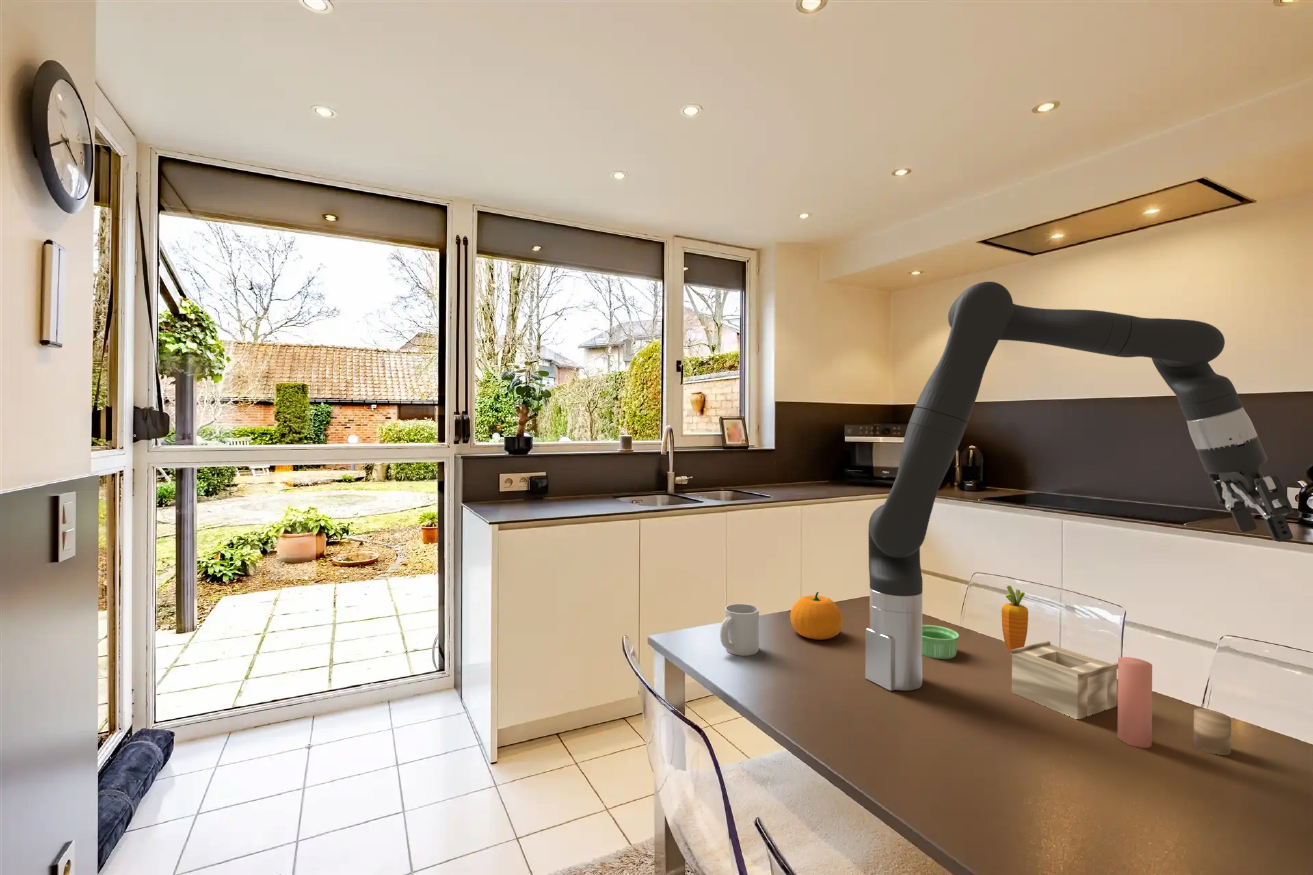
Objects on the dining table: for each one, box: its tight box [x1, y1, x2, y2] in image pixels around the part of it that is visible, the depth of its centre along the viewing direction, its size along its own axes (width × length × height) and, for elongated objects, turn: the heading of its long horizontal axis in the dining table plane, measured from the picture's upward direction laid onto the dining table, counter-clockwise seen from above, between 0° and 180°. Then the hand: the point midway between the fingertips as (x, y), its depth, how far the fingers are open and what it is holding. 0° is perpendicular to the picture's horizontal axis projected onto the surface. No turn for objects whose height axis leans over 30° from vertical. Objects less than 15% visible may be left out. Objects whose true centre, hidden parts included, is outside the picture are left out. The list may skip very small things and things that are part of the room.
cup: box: [719, 603, 760, 657], centre depth 125 cm, size 7×10×9 cm
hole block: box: [1009, 640, 1118, 720], centre depth 102 cm, size 11×12×8 cm
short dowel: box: [1193, 708, 1232, 756], centre depth 87 cm, size 4×4×5 cm
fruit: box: [789, 591, 844, 641], centre depth 135 cm, size 12×12×10 cm
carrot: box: [1001, 585, 1029, 658], centre depth 120 cm, size 5×5×15 cm
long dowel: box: [1117, 656, 1153, 749], centre depth 89 cm, size 4×4×12 cm
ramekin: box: [922, 624, 960, 660], centre depth 124 cm, size 9×9×4 cm
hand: (1265, 535), depth 94 cm, fingers open, 8 cm apart
